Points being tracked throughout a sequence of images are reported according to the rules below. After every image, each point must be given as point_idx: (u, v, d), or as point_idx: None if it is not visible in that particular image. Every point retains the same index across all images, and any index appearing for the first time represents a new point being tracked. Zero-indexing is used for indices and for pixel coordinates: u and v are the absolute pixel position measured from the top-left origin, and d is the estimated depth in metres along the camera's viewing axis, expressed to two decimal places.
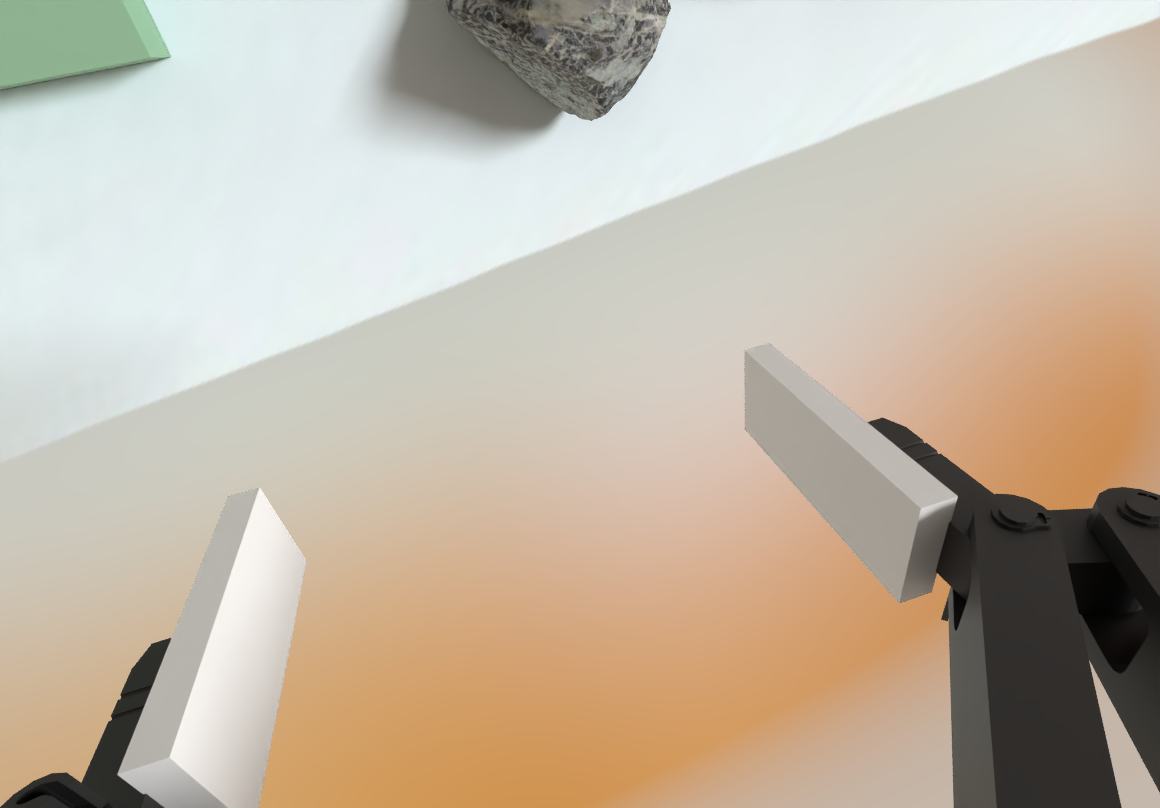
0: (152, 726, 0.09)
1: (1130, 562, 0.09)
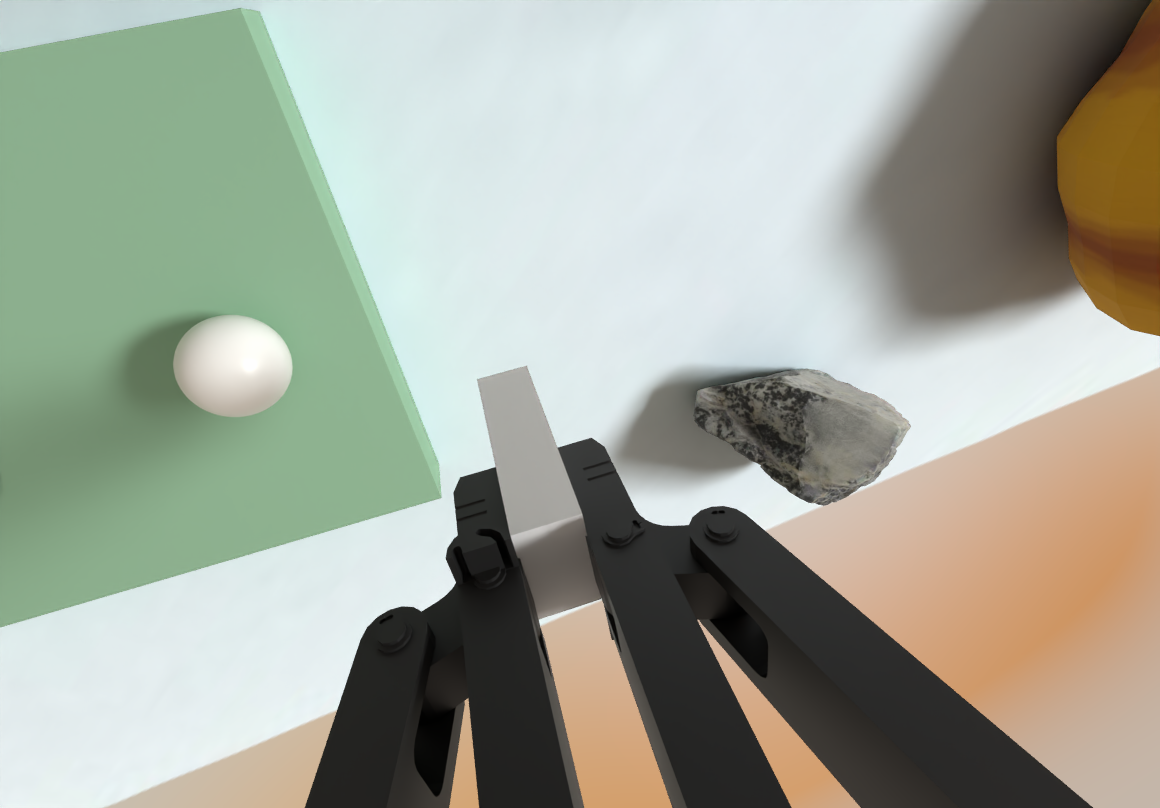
0: (518, 510, 0.12)
1: (732, 584, 0.10)
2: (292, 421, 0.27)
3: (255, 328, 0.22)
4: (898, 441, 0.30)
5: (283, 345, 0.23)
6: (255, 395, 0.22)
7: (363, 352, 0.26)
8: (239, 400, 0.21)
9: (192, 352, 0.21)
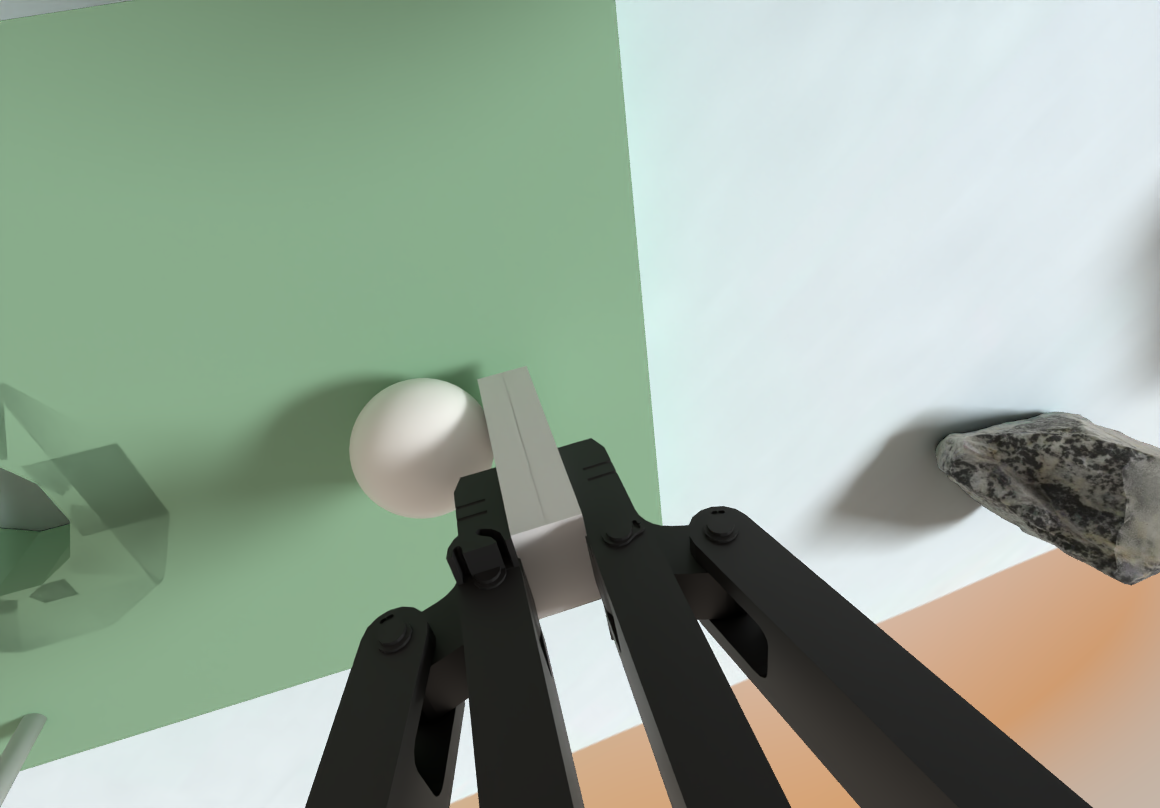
0: (519, 509, 0.12)
1: (731, 584, 0.10)
2: None
3: (425, 435, 0.15)
4: None
5: (456, 469, 0.15)
6: (389, 509, 0.16)
7: (630, 399, 0.20)
8: (375, 502, 0.16)
9: (357, 423, 0.16)
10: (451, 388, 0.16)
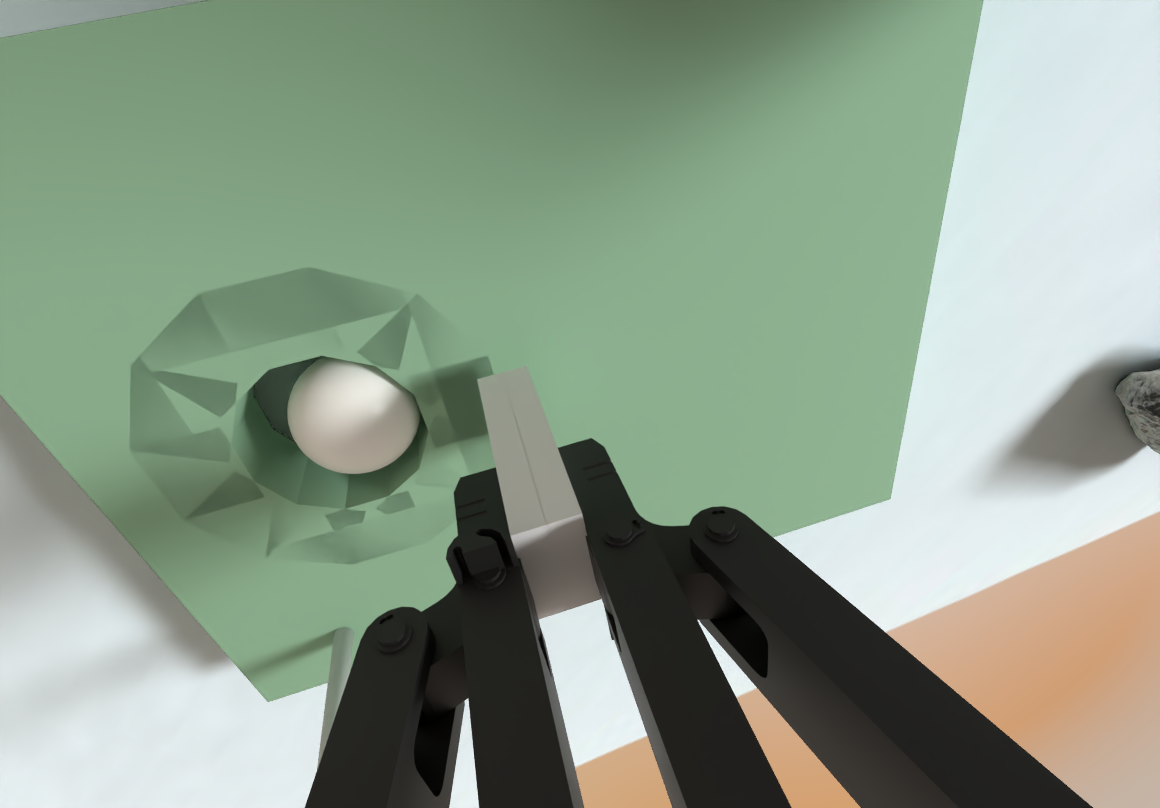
0: (518, 510, 0.12)
1: (732, 583, 0.10)
2: (800, 406, 0.22)
3: (307, 382, 0.17)
4: None
5: (325, 411, 0.17)
6: None
7: (906, 321, 0.21)
8: None
9: None
10: None
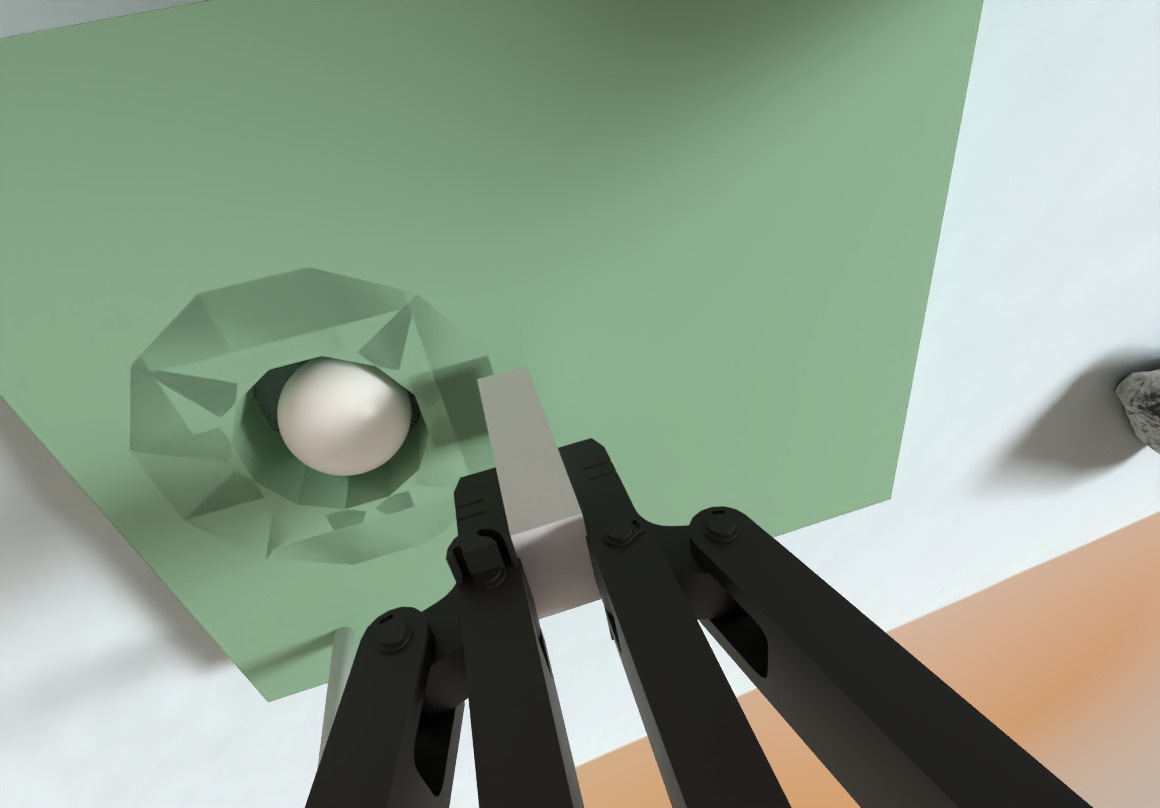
0: (518, 509, 0.12)
1: (732, 584, 0.10)
2: (800, 406, 0.22)
3: (294, 382, 0.17)
4: None
5: (306, 412, 0.17)
6: None
7: (906, 321, 0.21)
8: None
9: None
10: None
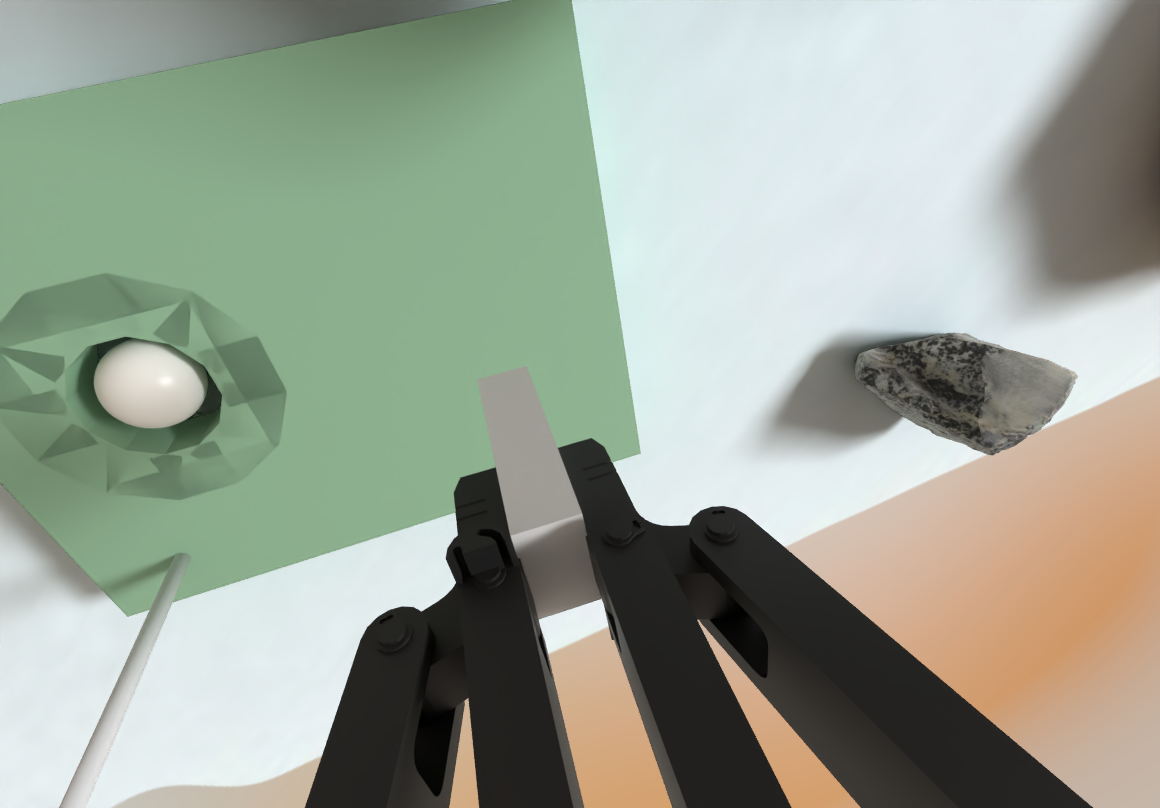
0: (518, 510, 0.12)
1: (732, 583, 0.10)
2: (532, 375, 0.29)
3: (104, 356, 0.24)
4: (1070, 388, 0.32)
5: (103, 378, 0.23)
6: None
7: (603, 308, 0.28)
8: None
9: None
10: None
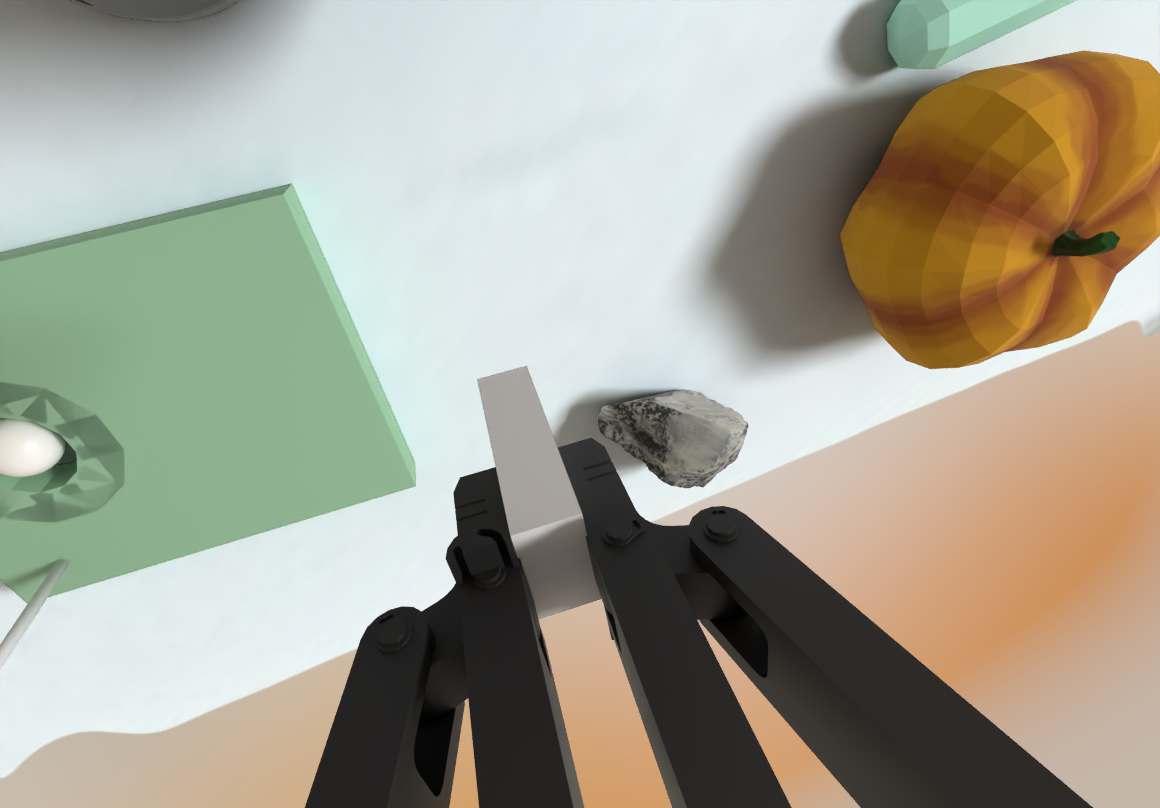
0: (518, 509, 0.12)
1: (732, 583, 0.10)
2: (312, 434, 0.40)
3: None
4: (732, 442, 0.43)
5: None
6: None
7: (358, 388, 0.39)
8: None
9: None
10: None
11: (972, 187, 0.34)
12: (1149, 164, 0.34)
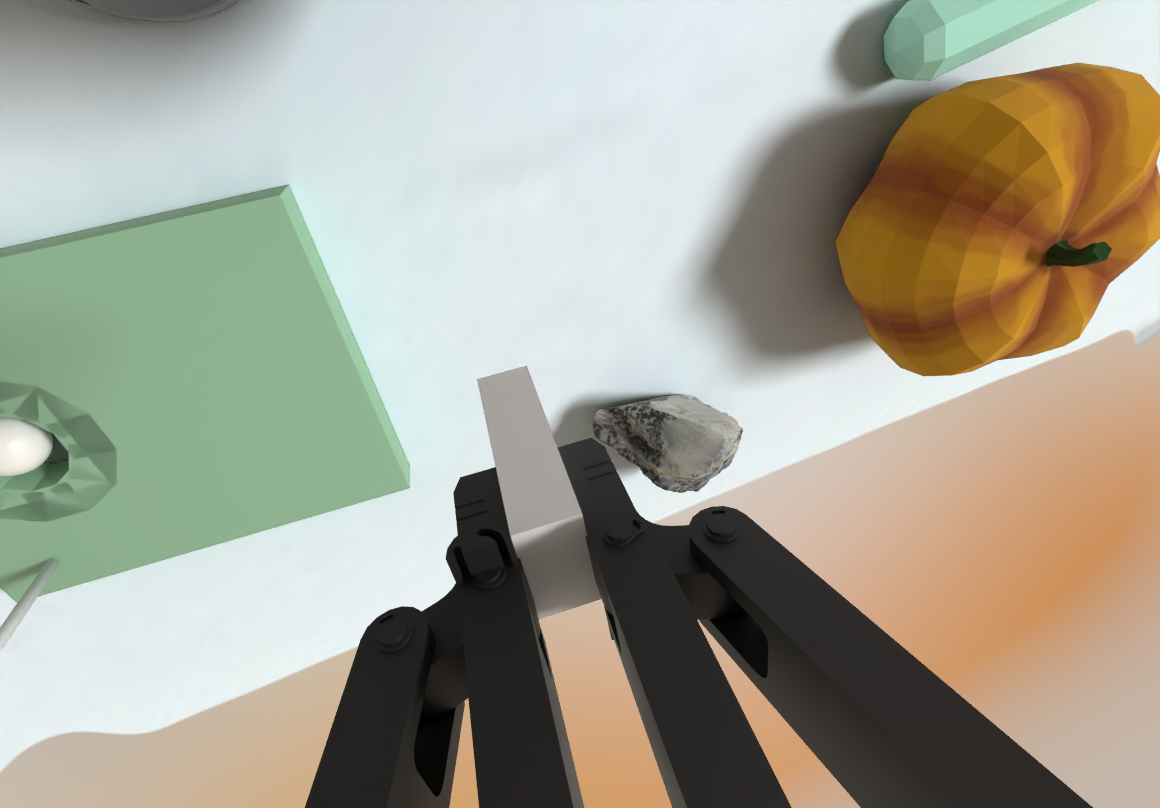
0: (518, 509, 0.12)
1: (732, 583, 0.10)
2: (306, 435, 0.40)
3: None
4: (726, 447, 0.43)
5: None
6: None
7: (353, 389, 0.39)
8: None
9: None
10: None
11: (966, 196, 0.34)
12: (1140, 176, 0.34)
